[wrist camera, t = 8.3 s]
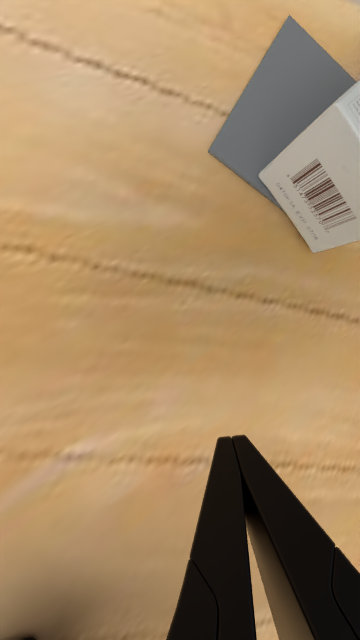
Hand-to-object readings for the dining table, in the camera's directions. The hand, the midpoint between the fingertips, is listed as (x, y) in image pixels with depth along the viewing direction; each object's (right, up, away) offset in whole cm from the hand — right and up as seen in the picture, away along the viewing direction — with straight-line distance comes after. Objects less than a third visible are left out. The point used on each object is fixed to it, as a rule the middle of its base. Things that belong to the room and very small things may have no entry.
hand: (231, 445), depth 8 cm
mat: (+8, +18, +12) cm, 23 cm away
